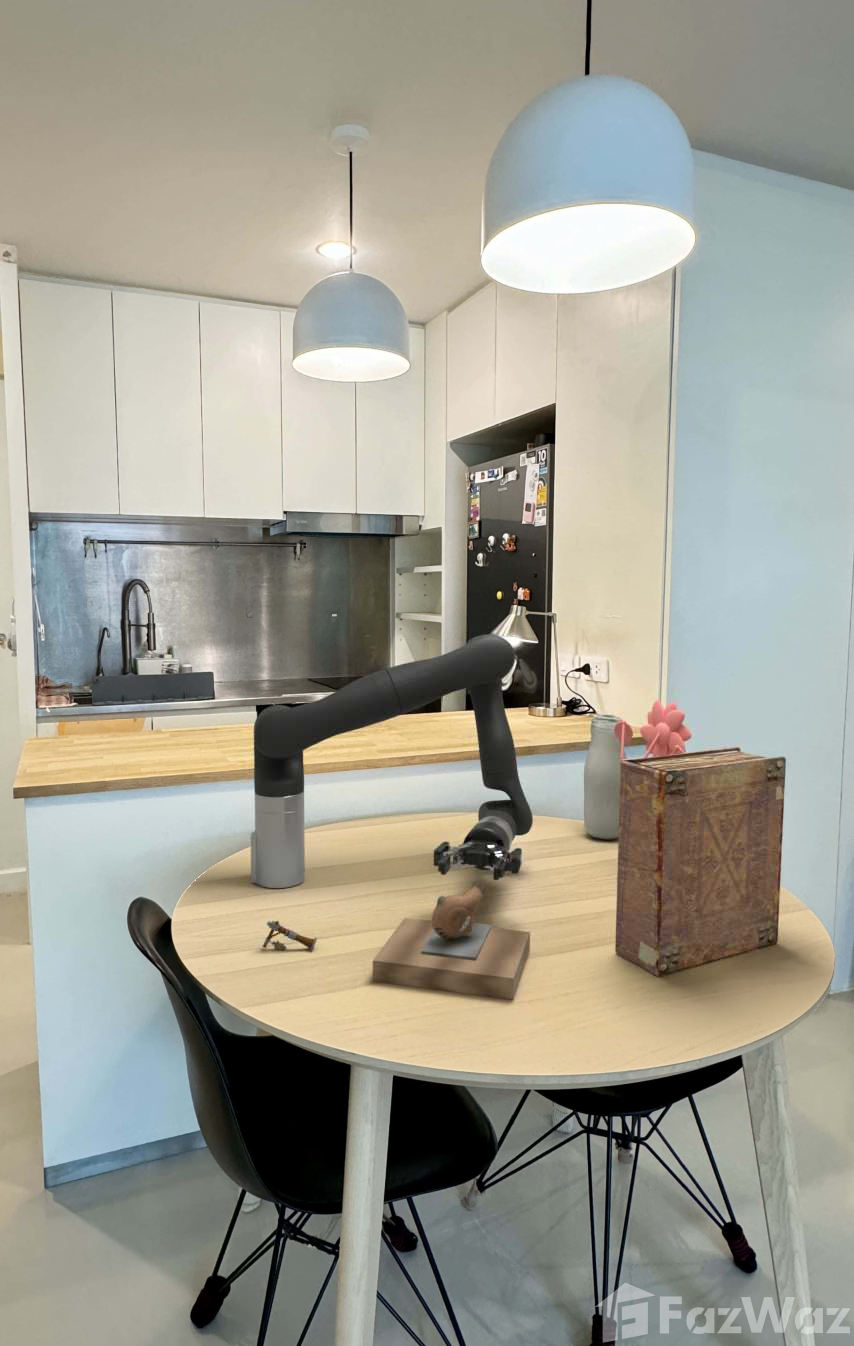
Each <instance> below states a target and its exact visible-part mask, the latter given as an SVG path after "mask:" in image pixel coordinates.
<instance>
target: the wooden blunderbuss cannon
mask: <svg viewBox="0 0 854 1346" xmlns="http://www.w3.org/2000/svg"><path fill="white" fill-rule="evenodd" d="M266 925H267V926H268V929H271V930H270V932H269V933H268V935H267V936H266V938H265V941H264V942H263V945H262V947H263V948H264V949H266V948H267V946H268V945H269V944H271V946H274V948H273V949H274V950H276V949H277V950H279V951H283V950H284V951H285V950H287V946H286V945H285V942H284V943H283V942H280V941H279V939H278V940H277V941H275V940H273V941H271V939H272V938H273V937H275V936H277V935H280V934H281V935H283V936H284V938H286V937H287V938H286V939H290V940H291V941H293V942H294V941H296V942H298V943H299V944H301V945H303V946H304V947H307V948H308V949H309V951H308V952H310V953H311V952H313V949H314V947H315V946H316V943H317V940H318V937H316V936H315V937H314V938H311V937H307V936H303V935H301V934H298V932H295V931H293V930H292V929H290V928H286V927H284V926H282V925H281V924H280V921H279V920H272V921H271V920H269V921H267V923H266ZM274 932H276V933H274Z"/></svg>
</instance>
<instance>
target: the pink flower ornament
mask: <svg viewBox="0 0 854 1346" xmlns="http://www.w3.org/2000/svg"><path fill="white" fill-rule="evenodd" d="M685 718H686V715H685V712H684V711H683V710H680V709H678V708H677V704H676V702H675V701H674V702H673V701H672V702H671V703H668V704H667V705H666V706H665V707H663V704H662V701H660V700H659V699H655V701H654V702H653V705H652V708H651V710H649V711H648V712H647V724H645V725H642V726H641V727H640V729H639V734H640V736H641V737H642V738H643V739H644V741H646V747H645V750H646V753H645V754H644V756H643V757H642V758H648V757H649V755H650V754H651V755H652V757H657V756H665V755H673V754H682V753H687V752H686V744H685V743H684V742H687V741H689V740H690V739H691V738H692V732H691V731H690V729H689V727H687V725H685V724H684V723H683V722H684V720H685ZM614 732H615V735H616V737H617V738H618V739H619V741H620V742H621V761H623V760H630V758H629V759H628V758H627V759H623V754H624V751H625V744H626V743H629V742H630V741H631V740H632V738H633V736H634V731H633V729H632V727H631V725H630V724H629V723H628V722H627V721H626V720H625V719H622V721H620V722H618V723H617V724H616V725H615V728H614Z"/></svg>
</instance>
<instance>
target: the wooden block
mask: <svg viewBox="0 0 854 1346" xmlns="http://www.w3.org/2000/svg"><path fill="white" fill-rule="evenodd" d="M492 926H493V925H492V924H484V923H477V922H473V926H472V931H471V933H468V934H466V935H463V936H461V937H458V938H455V939H445V938H442V937H440V936H439V935H437V934H436V932H435V931H434V929H433V926H432V920H426V919H419V918H410V917H404V918H403V919H402V921H401V923H399V925H398V927H396V929H395V930H394V931H393V933H392V935H390V937H389V938H388V939H387V941H386V942H385V943H384V945H383V946H382V948H381V949H380V950H379V951H378V953H377V954H376V955H375V957H374V958H373V959H372V982H379V983H386V984H392V985H393V984H394V985H400V986H408V987H417V988H424V989H431V990H438V991H446V992H453V993H461V994H467V995H469V994H470V995H477V996H483V997H490V998H498V999H505V1000H512V1001H513V1000H514V999H515V995H516V993H517V990H518V987H519V984H520V981H521V979H522V978H521V977H522V974H523V972H524V969H525V967H526V963H527V960H528V958H529V954H530V950H531V949H530V948H531V947H530V946H531V932H530V931H526V930H525V931H524V930H516V929H509V928H508V929H506V928H499V927H492Z"/></svg>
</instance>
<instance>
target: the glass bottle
mask: <svg viewBox="0 0 854 1346" xmlns="http://www.w3.org/2000/svg"><path fill="white" fill-rule="evenodd" d="M622 720H623V719H622V718H620V717H618V716H615V715H614V714H598V715H596V716H595V717H593V718H592V719H591V722H590V723H591V724H590V728H589V731H590V736H591V737H590V743H589V748H588V752H587V755H586V758H585V762H584V767H583V788H584V789H583V796H584V798H583V820H584V821H583V822H584V828H585V829H586V832H587V833H588V834H589V835H590V836H592V837H594V838H596V839H600V840H613V839H617V838H618V839H619V806H620V772H621V762H622V761H621V742H620V741H619V739H618V738H617V737H616V735H615V732H614V728H615V725H616V724H617V723H618V722H620V721H622ZM623 759H628V757H627V755H626V751H625V750H624V754H623Z"/></svg>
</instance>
